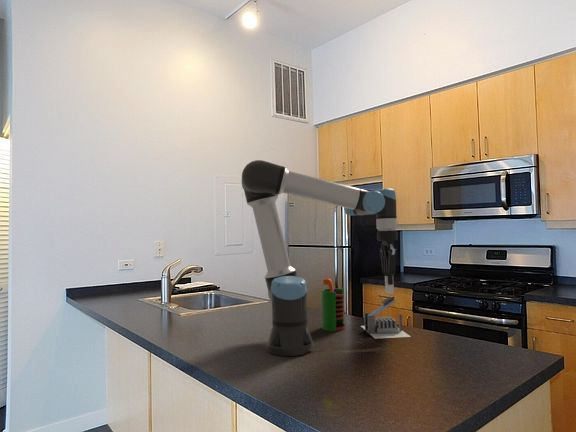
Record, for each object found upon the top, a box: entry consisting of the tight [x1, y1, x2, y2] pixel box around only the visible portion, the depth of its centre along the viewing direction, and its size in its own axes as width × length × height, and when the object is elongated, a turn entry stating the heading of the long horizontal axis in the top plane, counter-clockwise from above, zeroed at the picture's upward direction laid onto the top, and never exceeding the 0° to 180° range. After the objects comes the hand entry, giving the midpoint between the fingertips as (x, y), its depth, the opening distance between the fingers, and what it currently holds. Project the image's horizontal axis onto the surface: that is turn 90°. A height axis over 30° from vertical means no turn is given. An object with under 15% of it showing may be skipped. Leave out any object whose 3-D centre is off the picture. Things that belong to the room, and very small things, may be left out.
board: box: [360, 325, 412, 339], centre depth 153 cm, size 19×13×1 cm
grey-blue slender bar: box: [366, 296, 396, 318], centre depth 153 cm, size 3×12×2 cm
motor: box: [321, 278, 346, 333], centre depth 159 cm, size 10×9×20 cm
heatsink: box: [375, 315, 399, 334], centre depth 153 cm, size 8×8×4 cm
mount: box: [363, 312, 403, 335], centre depth 153 cm, size 5×13×6 cm, turn 95°
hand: (389, 293), depth 153 cm, fingers closed
